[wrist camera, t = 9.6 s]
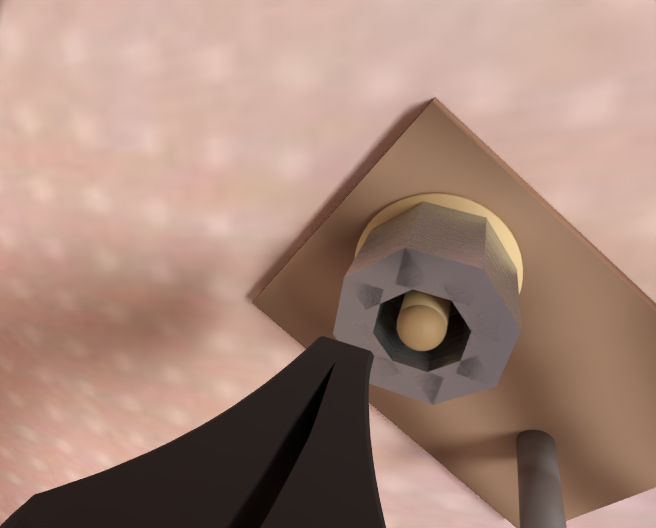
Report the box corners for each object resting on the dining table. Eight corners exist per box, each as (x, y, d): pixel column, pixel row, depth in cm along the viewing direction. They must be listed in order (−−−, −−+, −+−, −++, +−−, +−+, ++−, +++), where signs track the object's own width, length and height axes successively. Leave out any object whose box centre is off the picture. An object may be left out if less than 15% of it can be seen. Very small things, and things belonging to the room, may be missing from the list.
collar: (483, 349, 19) (480, 421, 16) (354, 310, 20) (326, 369, 17) (533, 229, 17) (542, 284, 13) (380, 190, 18) (352, 232, 14)
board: (525, 518, 25) (531, 642, 20) (261, 292, 23) (198, 366, 18) (776, 417, 18) (877, 564, 14) (435, 97, 17) (410, 132, 12)
